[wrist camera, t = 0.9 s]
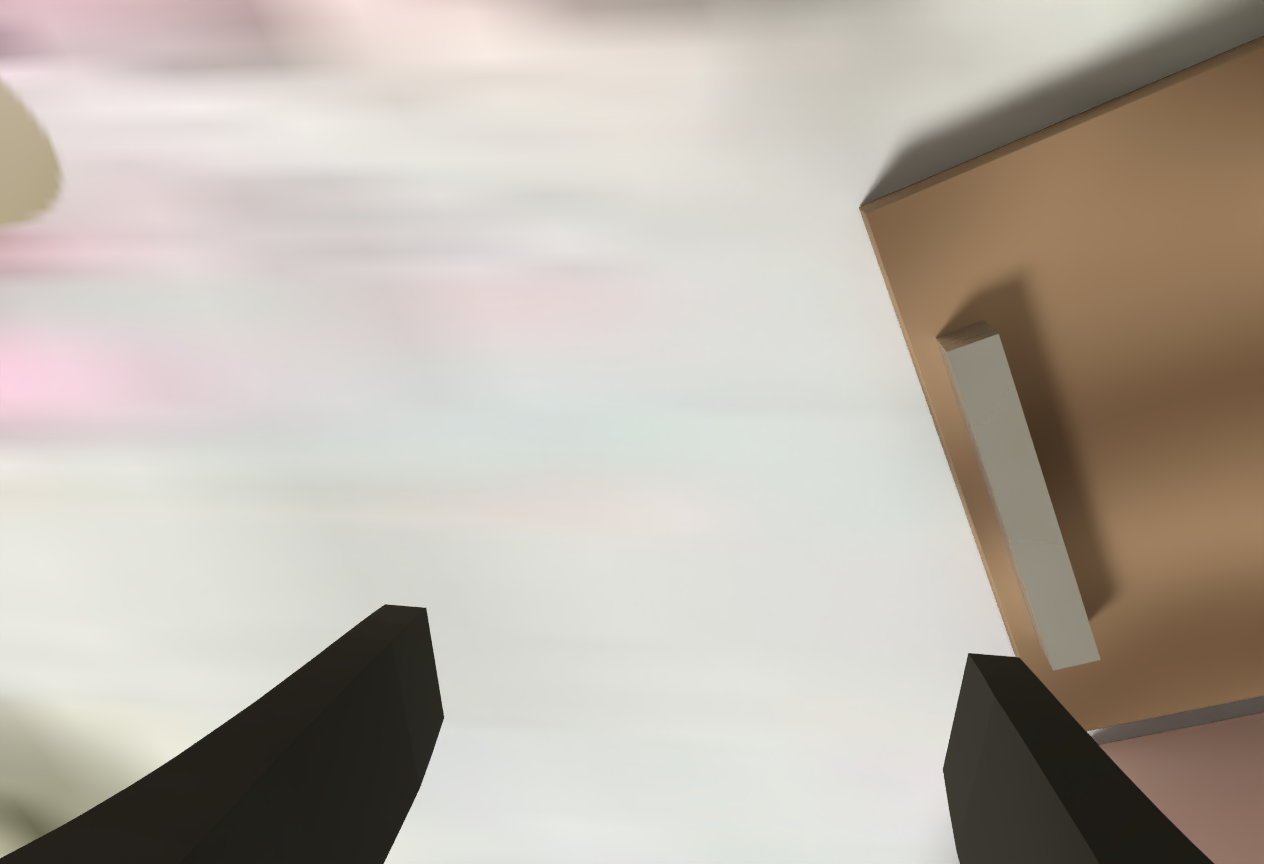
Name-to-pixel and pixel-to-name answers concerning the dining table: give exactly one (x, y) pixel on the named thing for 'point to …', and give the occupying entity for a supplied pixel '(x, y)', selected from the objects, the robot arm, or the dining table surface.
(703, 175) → the dining table surface
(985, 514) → the display stand
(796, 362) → the dining table surface
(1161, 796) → the pink rectangular block
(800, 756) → the dining table surface
